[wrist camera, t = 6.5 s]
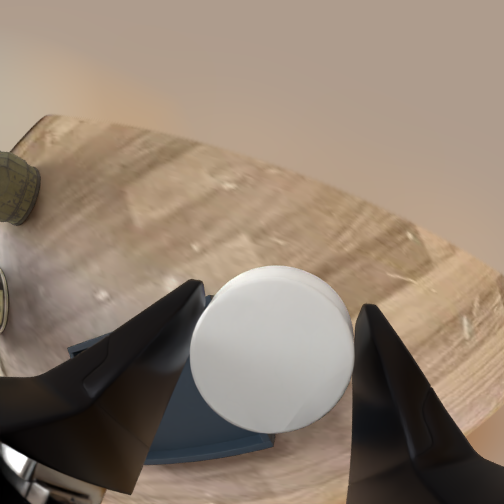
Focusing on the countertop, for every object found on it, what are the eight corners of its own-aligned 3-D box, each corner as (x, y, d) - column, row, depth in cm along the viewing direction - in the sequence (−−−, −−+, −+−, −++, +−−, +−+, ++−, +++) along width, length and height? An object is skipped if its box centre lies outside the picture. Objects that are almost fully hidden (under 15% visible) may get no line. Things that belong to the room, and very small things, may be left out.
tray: (276, 430, 19) (273, 446, 16) (132, 453, 20) (118, 464, 17) (220, 295, 21) (209, 294, 18) (85, 344, 22) (67, 347, 19)
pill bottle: (231, 369, 14) (163, 438, 6) (235, 278, 15) (166, 246, 7) (326, 373, 14) (365, 452, 5) (331, 280, 15) (383, 249, 6)
